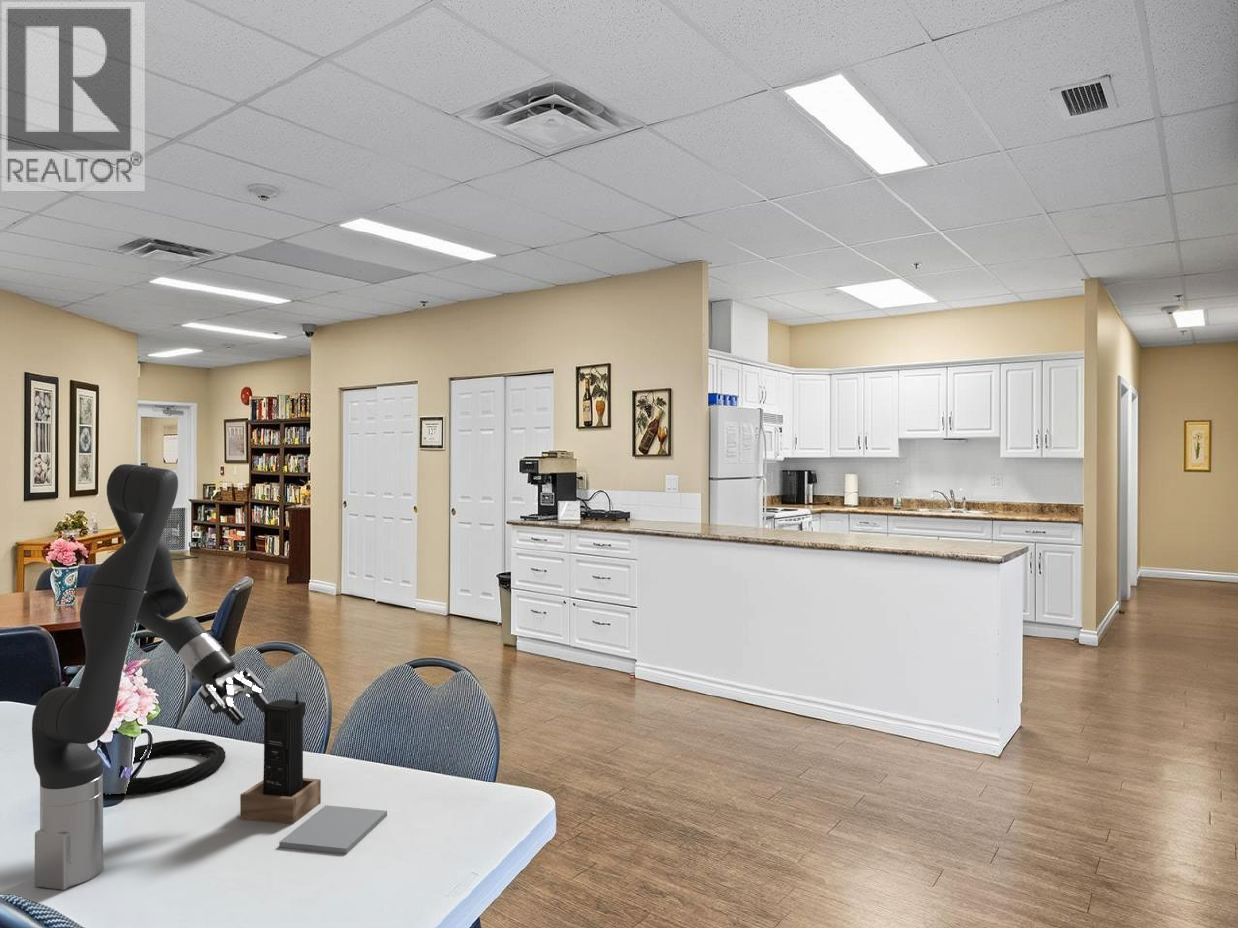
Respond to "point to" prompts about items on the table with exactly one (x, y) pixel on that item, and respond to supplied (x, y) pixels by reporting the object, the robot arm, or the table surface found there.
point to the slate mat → (334, 829)
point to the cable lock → (179, 777)
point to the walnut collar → (280, 803)
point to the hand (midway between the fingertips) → (254, 715)
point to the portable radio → (283, 747)
